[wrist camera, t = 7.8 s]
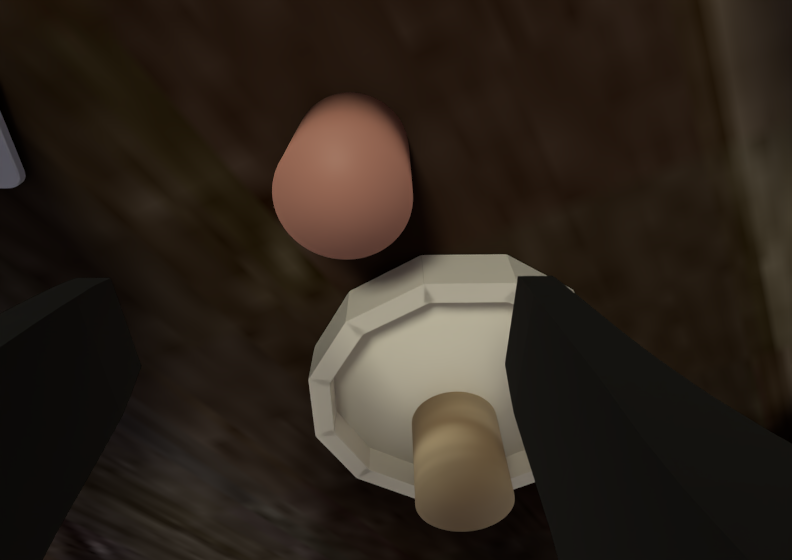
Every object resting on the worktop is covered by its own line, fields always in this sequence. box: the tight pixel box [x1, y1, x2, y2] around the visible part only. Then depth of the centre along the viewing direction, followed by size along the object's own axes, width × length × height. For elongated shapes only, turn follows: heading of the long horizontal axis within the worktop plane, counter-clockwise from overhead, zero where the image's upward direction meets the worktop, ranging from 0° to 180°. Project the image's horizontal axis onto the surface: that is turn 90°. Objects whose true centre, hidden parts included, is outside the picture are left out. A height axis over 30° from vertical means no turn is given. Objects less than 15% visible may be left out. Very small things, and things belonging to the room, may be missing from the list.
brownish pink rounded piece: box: [272, 92, 413, 260], centre depth 16 cm, size 4×4×4 cm
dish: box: [308, 254, 574, 498], centre depth 22 cm, size 12×12×2 cm
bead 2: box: [412, 392, 515, 532], centre depth 21 cm, size 4×4×4 cm
